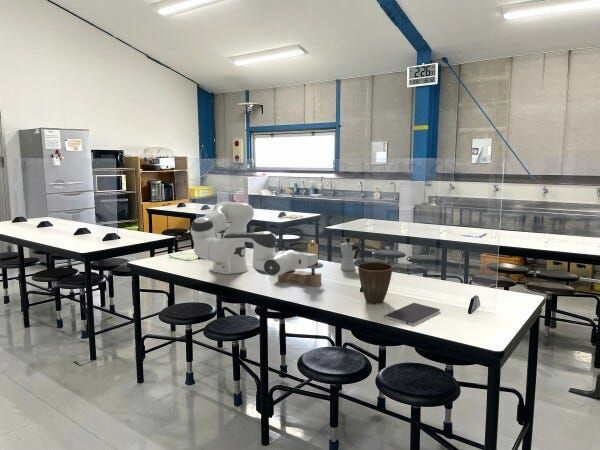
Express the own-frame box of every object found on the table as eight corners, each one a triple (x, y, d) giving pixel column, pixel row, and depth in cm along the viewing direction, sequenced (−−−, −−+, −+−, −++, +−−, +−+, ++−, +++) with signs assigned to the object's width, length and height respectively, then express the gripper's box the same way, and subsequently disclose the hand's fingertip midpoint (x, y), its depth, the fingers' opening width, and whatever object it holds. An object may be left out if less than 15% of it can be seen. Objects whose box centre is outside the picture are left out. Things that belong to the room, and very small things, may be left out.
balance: (272, 281, 236) (272, 261, 234) (282, 276, 244) (282, 257, 243) (317, 287, 223) (317, 266, 222) (326, 282, 232) (326, 262, 230)
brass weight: (306, 265, 227) (305, 241, 226) (310, 263, 232) (310, 239, 230) (315, 266, 225) (315, 242, 223) (319, 264, 229) (319, 240, 227)
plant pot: (398, 301, 201) (399, 265, 198) (378, 309, 191) (379, 272, 188) (371, 294, 212) (371, 260, 209) (350, 301, 201) (350, 266, 199)
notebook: (413, 306, 196) (384, 318, 181) (413, 302, 196) (384, 315, 181) (440, 313, 187) (412, 327, 173) (440, 309, 187) (412, 323, 172)
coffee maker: (334, 268, 260) (334, 237, 257) (345, 265, 266) (345, 235, 263) (354, 273, 249) (354, 240, 246) (364, 270, 255) (365, 238, 252)
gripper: (270, 264, 212) (285, 258, 224) (309, 269, 202) (323, 262, 214) (270, 251, 211) (285, 245, 223) (309, 255, 201) (323, 249, 213)
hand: (304, 254), depth 219 cm, fingers open, 8 cm apart
